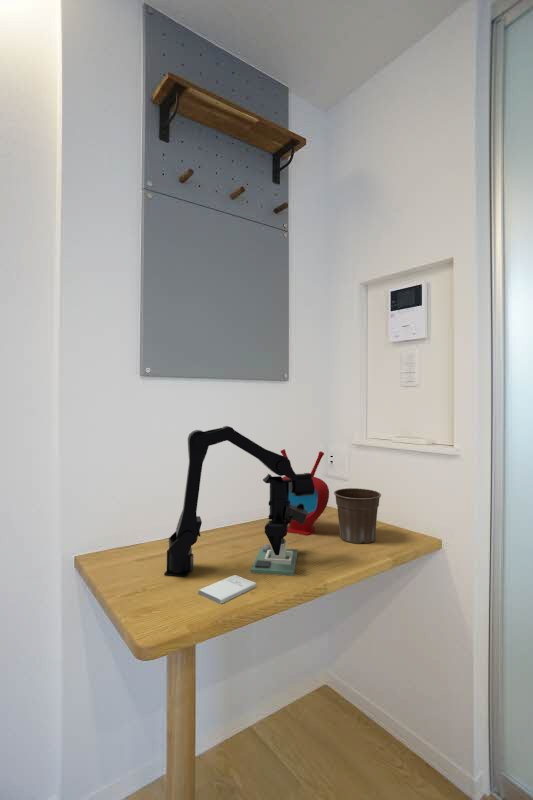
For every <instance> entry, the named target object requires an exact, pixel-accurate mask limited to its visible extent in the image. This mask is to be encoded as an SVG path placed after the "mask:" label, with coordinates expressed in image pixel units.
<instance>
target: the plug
mask: <svg viewBox="0 0 533 800" xmlns="http://www.w3.org/2000/svg"><path fill="white" fill-rule="evenodd" d="M270 546H271V545H270ZM286 549H287V540H286V538H283V539H282V542H281V547H280V553H279V555H275V553H274V551H273V548H272V546H271V559H286Z"/></svg>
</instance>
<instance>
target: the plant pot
mask: <svg viewBox="0 0 533 800" xmlns="http://www.w3.org/2000/svg"><path fill="white" fill-rule="evenodd" d="M333 494H334V495H335V503H336V507H337V517H338V527H339V528H338V529H339V538H340V539H341V540H343V541H344V542H347V543H351V544H357V545H359V544H361V543H364V544H369V543H373V542H374V541H375V540H376V531H377V529H376V528H377V520H378V519H377V518H378V510H379V508H378V507H380V499H381V497H382V493H380V492H379V491H377V490H373V489H367V488H355V487H354V488H353V487H350V488H349V487H347V488H340V489H337V490H334V492H333Z"/></svg>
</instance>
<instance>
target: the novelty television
mask: <svg viewBox="0 0 533 800" xmlns="http://www.w3.org/2000/svg"><path fill="white" fill-rule="evenodd" d="M280 453H281V455H282V456H284V457H286V458H288V459H289V457H288V454H287V452H286V449H282V450H280ZM324 455H325V453H324V452H323V451H319V452H318V455H317V458H316V460H315V463H314V464H313V467H312V469H311V472H309V473H310V474H312V479H313V483H314V494H313V495H312V496H293V494H292V493H290V491H289V500H290V504H291V505H293V506H294V505H295V506H297V505H298V504H299V503H301V504H304V508H305V510H307V511H308V514H307V517H306V520H305V522H304V524H300V523H299V522H297V521H294V520H292V519H291V522H290V523H289V524H288V531H287V533H290V532H291V534H297V533H298V534H297V535H302V534H303V536H309V535H311V534H312V535H313V534H314V533H316V527H315V526H314V524H315V522H316V521H317V520H318V519H319V518H320V516H321V515H322V514H323V513H324V511H325V510H326V508H327V505H328V503H329V498H330V489H329V486H328V484H327V483H326V482H325V481H324V480H323V479H321V478H318V477H316V476H315V474H316V471H317V469H318V467H319V465H320V462H321V460H322V458H323V456H324ZM291 468H292V470H293V471H294V469H293V466H291ZM281 477H282V479H290V478H288V477H286V476H284V475H283V476H281Z"/></svg>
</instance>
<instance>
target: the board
mask: <svg viewBox="0 0 533 800" xmlns="http://www.w3.org/2000/svg"><path fill="white" fill-rule="evenodd" d="M298 552H299V551H298V549H296V548H295V549H294V548H286V559H271V544H264V545H262V547H259V550H258V552H257V554H256V556H255V558H254V561H253V564H252V565H251V568H250V574H258V575H274V574H275V575H276V574H277V575H276V576H291V575H292V576H295V569H296V563H297V558H298ZM292 576H291V577H292Z"/></svg>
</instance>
